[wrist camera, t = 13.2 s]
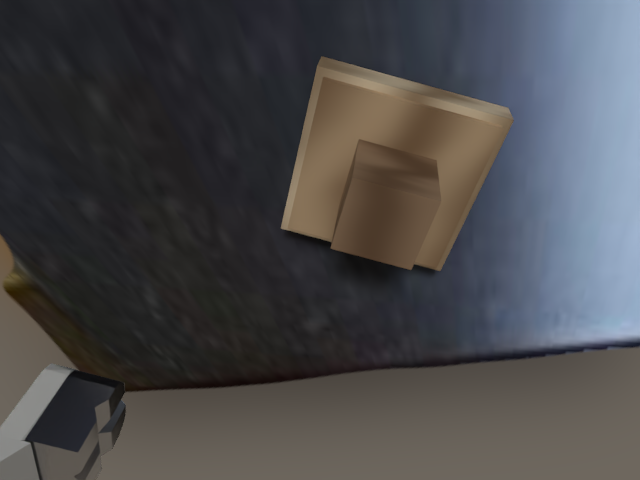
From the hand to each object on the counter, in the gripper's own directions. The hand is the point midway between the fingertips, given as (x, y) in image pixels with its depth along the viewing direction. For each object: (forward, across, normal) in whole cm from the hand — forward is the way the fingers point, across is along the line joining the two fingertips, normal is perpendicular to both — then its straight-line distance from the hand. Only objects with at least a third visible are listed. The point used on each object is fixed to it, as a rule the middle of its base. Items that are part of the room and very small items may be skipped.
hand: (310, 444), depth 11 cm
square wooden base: (+26, -2, +6) cm, 26 cm away
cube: (+23, -2, +6) cm, 24 cm away
